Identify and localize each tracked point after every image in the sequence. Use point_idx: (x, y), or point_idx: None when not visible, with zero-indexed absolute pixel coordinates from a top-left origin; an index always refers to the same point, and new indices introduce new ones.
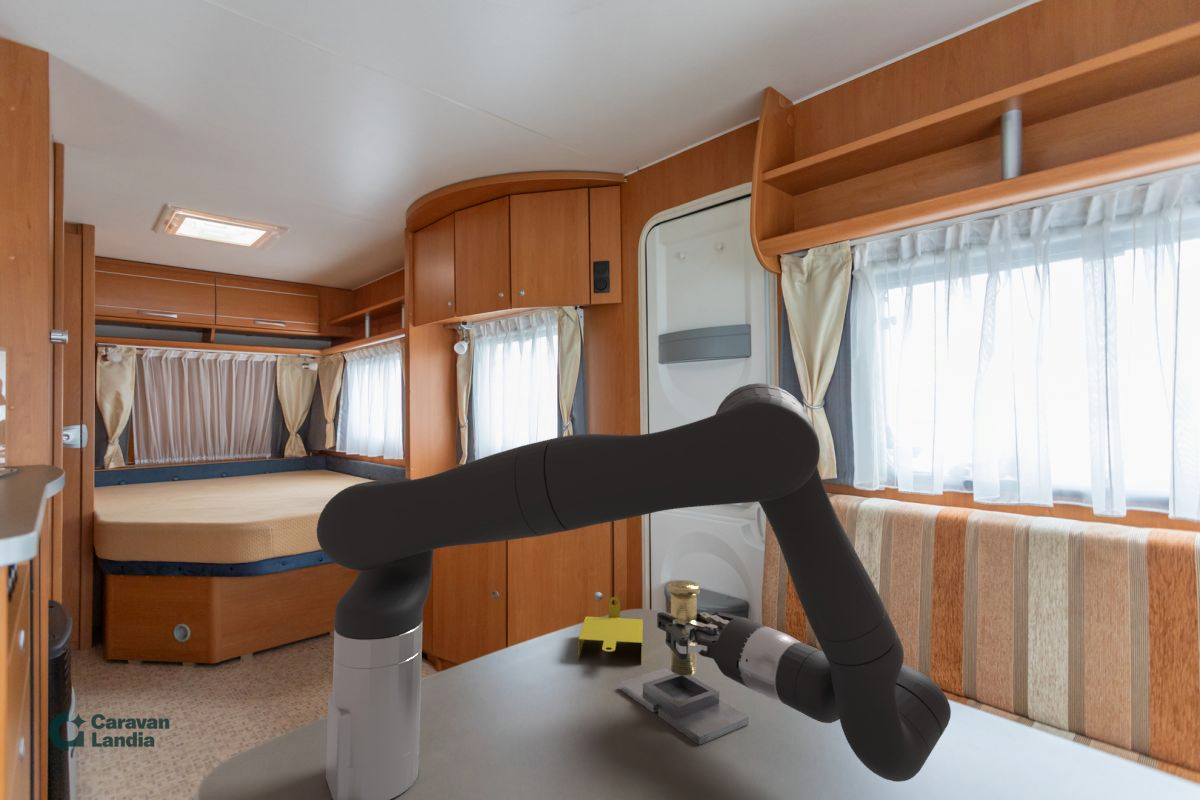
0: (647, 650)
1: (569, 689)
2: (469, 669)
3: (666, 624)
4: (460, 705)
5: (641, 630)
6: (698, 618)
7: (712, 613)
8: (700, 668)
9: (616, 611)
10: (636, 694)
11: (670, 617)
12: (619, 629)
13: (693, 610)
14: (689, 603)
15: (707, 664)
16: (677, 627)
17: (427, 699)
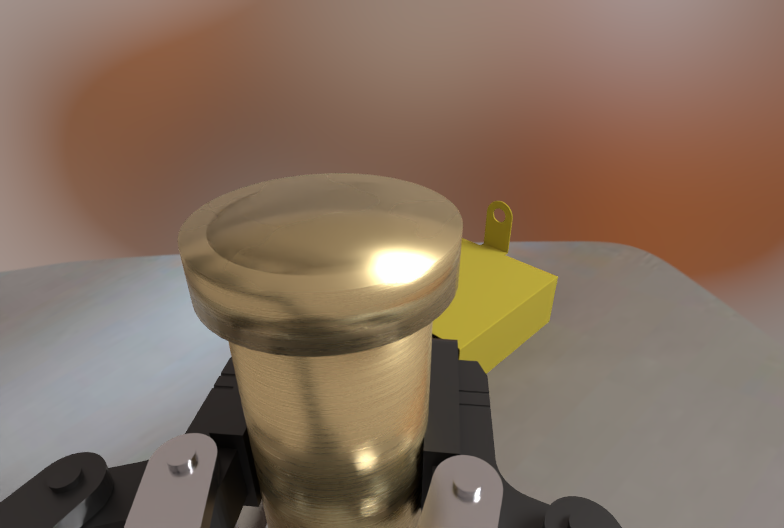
0: (525, 358)
1: (205, 392)
2: (160, 264)
3: (63, 460)
4: (13, 332)
5: (511, 308)
6: (430, 481)
7: (545, 515)
8: (624, 511)
9: (501, 237)
10: (267, 525)
11: (236, 395)
12: (459, 284)
13: (324, 447)
14: (275, 390)
15: (667, 506)
16: (127, 516)
17: (13, 296)
